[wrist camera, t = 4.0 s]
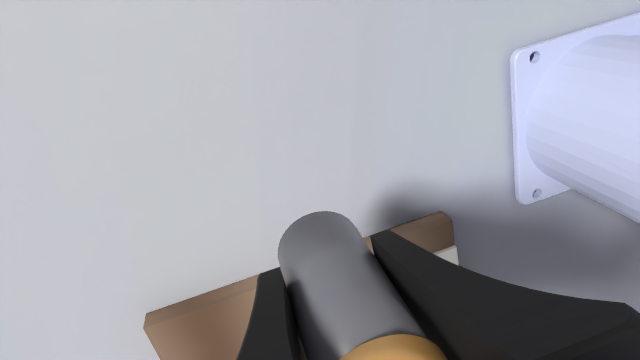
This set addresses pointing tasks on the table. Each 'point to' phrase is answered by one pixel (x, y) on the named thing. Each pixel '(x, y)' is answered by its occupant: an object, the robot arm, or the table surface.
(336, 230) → the grey and orange cylinder
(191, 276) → the table surface
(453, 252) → the drawing board
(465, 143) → the table surface
